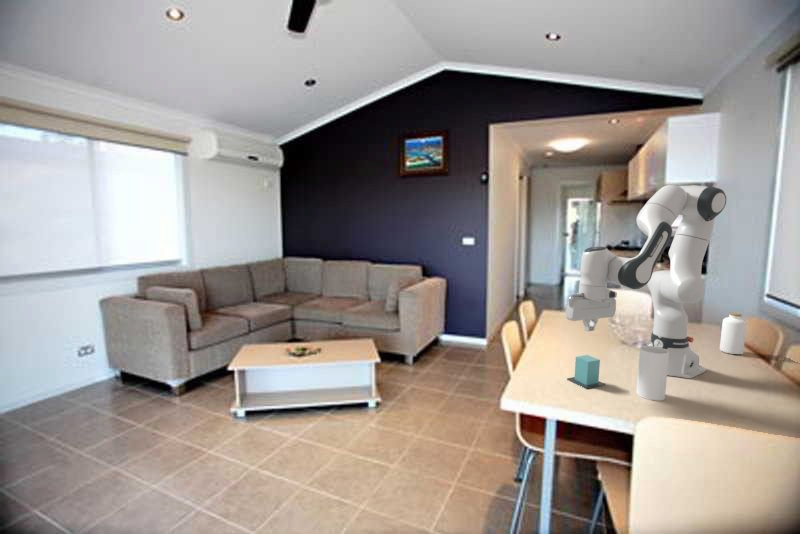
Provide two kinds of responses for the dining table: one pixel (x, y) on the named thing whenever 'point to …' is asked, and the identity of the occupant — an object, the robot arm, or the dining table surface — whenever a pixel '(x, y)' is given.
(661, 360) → the cup
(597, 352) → the dining table surface
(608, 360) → the dining table surface
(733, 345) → the potion bottle
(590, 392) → the dining table surface
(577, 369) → the teal rectangular block
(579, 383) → the post
